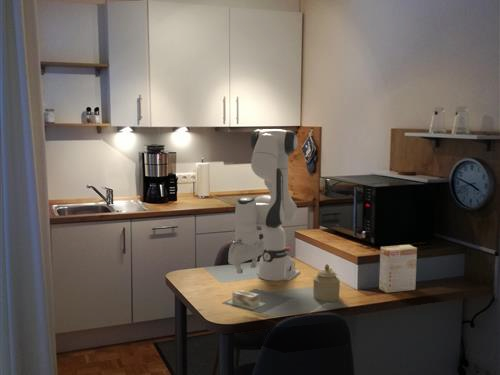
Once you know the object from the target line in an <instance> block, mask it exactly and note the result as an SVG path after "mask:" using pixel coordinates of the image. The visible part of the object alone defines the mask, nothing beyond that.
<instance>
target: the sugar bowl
mask: <svg viewBox="0 0 500 375" xmlns="http://www.w3.org/2000/svg"><path fill="white" fill-rule="evenodd" d="M316 275H317V276H315V277H313V286H312V287H313V292H312V293H313V298H314V299H316V300H317V301H318V300H319V301H324V302H327V303H334V302H337V301H339V299H340V288H341V287H340V286H341V284H340V283H341V281H340V278H339V277H337V275H338V274H337V273H336V272H335V271H334V270H333V268H330V265H329V264H325V266H324V269H322V270H320V271H318V272H317V273H316Z"/></svg>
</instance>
